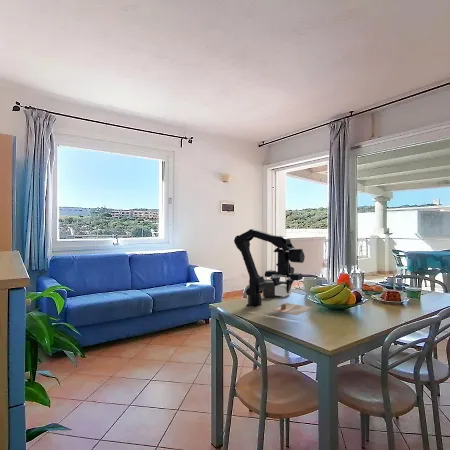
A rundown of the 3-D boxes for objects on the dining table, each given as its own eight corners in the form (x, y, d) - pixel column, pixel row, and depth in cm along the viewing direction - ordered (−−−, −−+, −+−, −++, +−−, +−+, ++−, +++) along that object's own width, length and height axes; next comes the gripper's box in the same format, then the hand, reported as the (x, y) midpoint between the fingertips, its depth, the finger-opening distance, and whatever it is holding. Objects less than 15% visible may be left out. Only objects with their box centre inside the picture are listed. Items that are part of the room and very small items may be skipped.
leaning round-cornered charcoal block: (287, 295, 193) (287, 280, 193) (289, 297, 189) (289, 281, 189) (261, 296, 191) (261, 281, 191) (263, 298, 186) (263, 282, 186)
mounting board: (270, 311, 158) (270, 305, 158) (286, 304, 172) (286, 298, 172) (297, 316, 149) (297, 309, 149) (313, 308, 163) (313, 302, 163)
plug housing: (274, 295, 158) (274, 286, 158) (284, 291, 166) (284, 283, 166) (283, 296, 155) (283, 287, 155) (293, 293, 163) (293, 284, 163)
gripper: (307, 261, 160) (307, 292, 160) (274, 258, 172) (274, 287, 172) (297, 263, 151) (297, 296, 151) (264, 260, 163) (264, 290, 163)
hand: (283, 292), depth 160 cm, fingers closed on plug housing, 5 cm apart
